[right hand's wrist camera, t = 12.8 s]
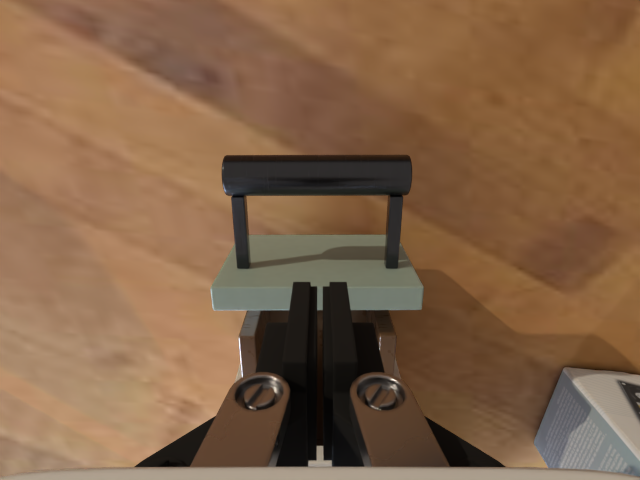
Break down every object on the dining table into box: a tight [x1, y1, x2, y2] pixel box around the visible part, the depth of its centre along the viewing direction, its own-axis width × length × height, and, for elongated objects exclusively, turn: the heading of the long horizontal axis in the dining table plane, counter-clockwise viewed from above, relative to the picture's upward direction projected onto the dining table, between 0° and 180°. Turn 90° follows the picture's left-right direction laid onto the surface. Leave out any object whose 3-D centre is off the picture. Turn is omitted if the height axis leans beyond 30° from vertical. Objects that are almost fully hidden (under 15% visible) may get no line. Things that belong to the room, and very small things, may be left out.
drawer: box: [211, 155, 424, 446], centre depth 23 cm, size 21×9×7 cm, turn 0°
